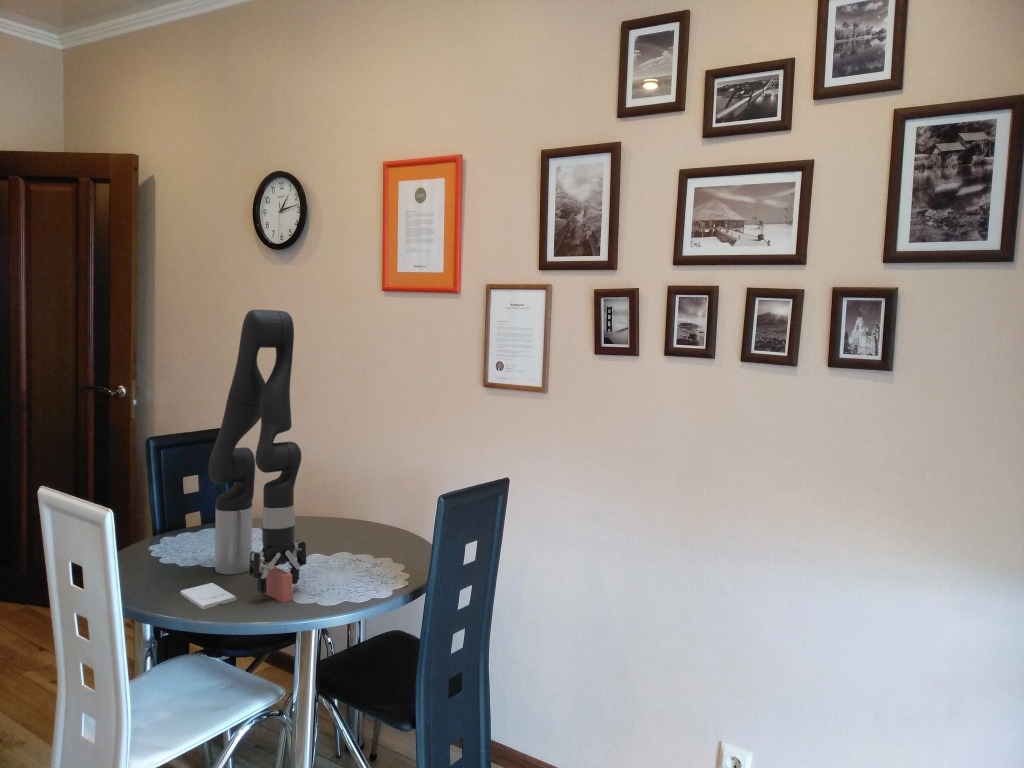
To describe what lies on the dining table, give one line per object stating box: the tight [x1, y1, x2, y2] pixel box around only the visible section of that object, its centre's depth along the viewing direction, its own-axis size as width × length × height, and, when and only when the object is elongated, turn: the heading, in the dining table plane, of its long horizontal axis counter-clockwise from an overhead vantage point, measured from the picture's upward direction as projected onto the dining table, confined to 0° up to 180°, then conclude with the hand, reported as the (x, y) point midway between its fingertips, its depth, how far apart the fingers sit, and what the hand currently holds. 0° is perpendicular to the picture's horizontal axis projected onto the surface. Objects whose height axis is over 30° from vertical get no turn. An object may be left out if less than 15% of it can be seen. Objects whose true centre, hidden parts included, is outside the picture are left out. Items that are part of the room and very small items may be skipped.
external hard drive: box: [179, 582, 237, 610], centre depth 167 cm, size 2×8×12 cm
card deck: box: [264, 566, 293, 603], centre depth 169 cm, size 9×2×6 cm, turn 50°
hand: (278, 587), depth 169 cm, fingers open, 8 cm apart
